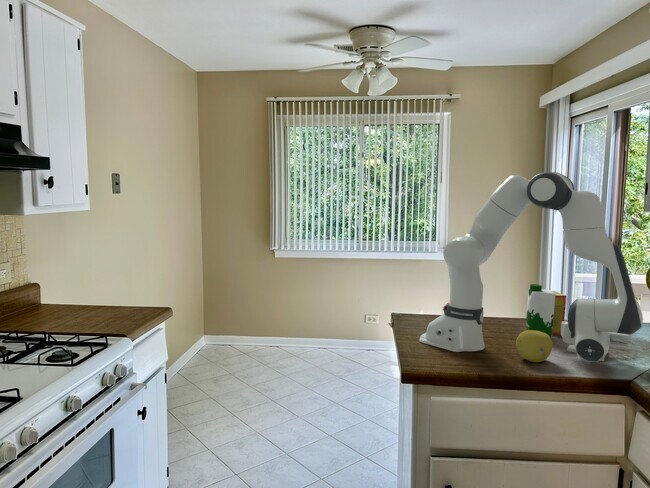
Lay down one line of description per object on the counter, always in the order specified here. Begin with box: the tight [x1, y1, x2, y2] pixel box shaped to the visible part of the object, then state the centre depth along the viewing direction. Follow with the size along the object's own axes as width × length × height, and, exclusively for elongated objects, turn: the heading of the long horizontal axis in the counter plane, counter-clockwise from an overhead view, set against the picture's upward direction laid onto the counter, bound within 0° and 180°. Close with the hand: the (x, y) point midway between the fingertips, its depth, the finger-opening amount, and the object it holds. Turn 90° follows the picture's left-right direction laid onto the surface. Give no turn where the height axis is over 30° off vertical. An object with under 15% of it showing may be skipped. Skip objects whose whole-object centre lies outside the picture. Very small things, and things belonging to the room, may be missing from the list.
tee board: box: [567, 344, 605, 362], centre depth 155 cm, size 11×14×1 cm
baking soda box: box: [551, 290, 567, 336], centre depth 179 cm, size 10×6×16 cm
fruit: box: [515, 329, 553, 363], centre depth 146 cm, size 10×11×10 cm
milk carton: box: [525, 283, 555, 339], centre depth 171 cm, size 9×9×20 cm
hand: (596, 327), depth 154 cm, fingers open, 8 cm apart
